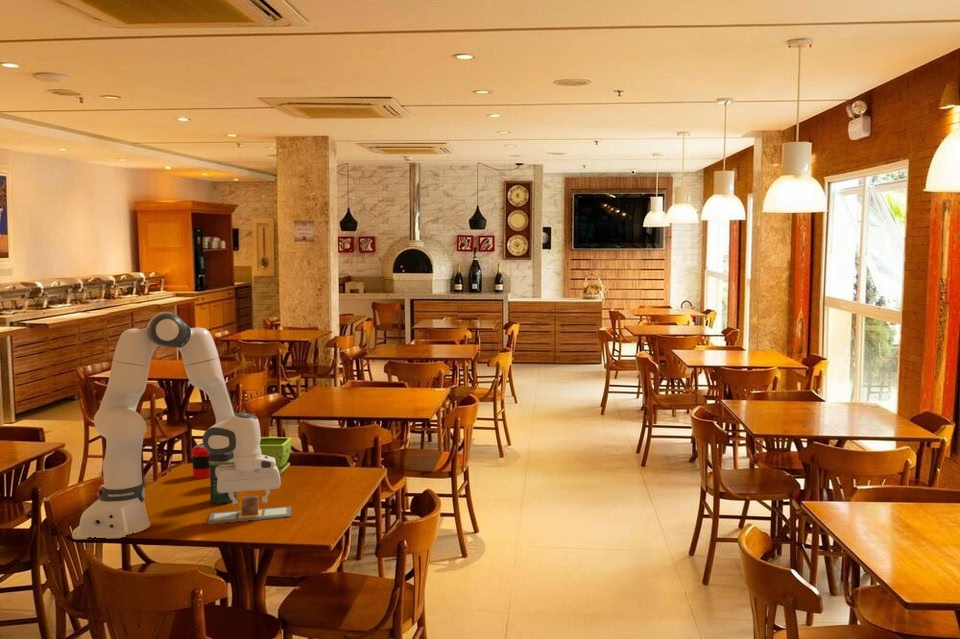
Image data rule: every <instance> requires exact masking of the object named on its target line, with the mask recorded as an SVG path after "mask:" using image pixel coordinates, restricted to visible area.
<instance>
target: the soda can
mask: <svg viewBox="0 0 960 639" xmlns="http://www.w3.org/2000/svg"><path fill="white" fill-rule="evenodd" d="M209 454H210V452H208V451H207V450H206V449H205V447H204V445H203V444H198V445H195V446H194V447H193V448H192V449H191V457H192V476H193V478H194V479H196V478H198V479H197V480H200V479H199V478H204V479H209V477H210V465H209Z"/></svg>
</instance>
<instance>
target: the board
mask: <svg viewBox="0 0 960 639" xmlns="http://www.w3.org/2000/svg"><path fill="white" fill-rule="evenodd" d="M284 517H286V518H292V505H291V506H279V507H268V508H259V511H258V515H246V516H242V510H233V511H232V510H231V511H221V512H212V513H210V514H209V516H208V520H207V522H206V523H207V525H214V524H213V523H218V524H226V522H230V523H237V522H236V521H241V522H249V521H248V520H252V521H259V520H260V521H261V520H262V519H263V520H271V519H272V518H274V519H285V518H284Z"/></svg>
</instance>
